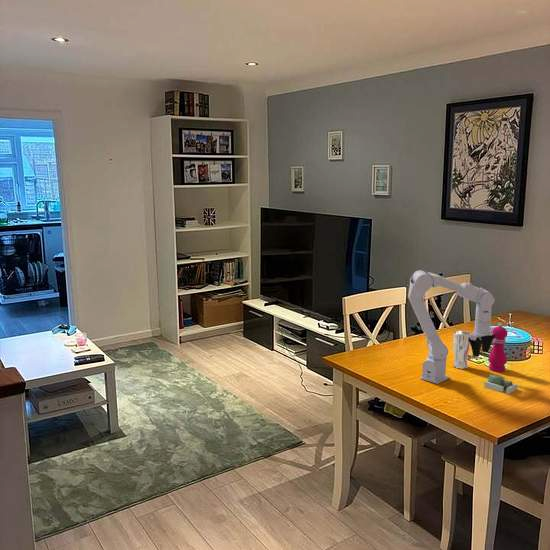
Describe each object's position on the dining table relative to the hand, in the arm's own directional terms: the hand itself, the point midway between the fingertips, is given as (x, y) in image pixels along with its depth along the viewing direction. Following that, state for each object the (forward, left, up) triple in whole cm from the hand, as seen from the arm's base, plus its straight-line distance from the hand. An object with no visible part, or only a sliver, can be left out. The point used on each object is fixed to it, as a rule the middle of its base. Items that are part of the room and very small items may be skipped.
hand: (480, 353), depth 216 cm
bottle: (-3, -6, -8) cm, 11 cm away
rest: (-3, -10, -10) cm, 15 cm away
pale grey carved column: (+7, +12, -11) cm, 17 cm away
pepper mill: (+15, 0, -11) cm, 18 cm away
